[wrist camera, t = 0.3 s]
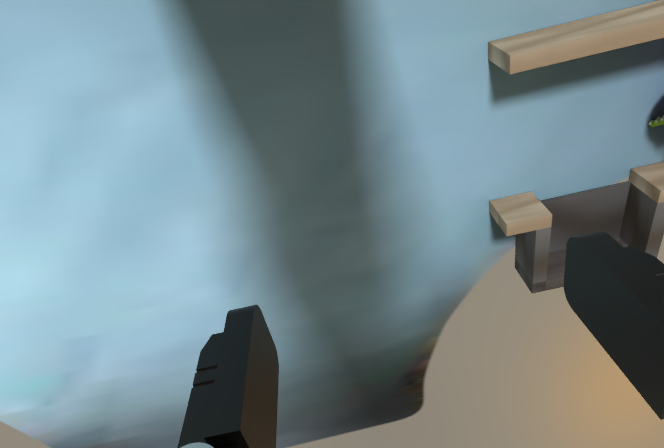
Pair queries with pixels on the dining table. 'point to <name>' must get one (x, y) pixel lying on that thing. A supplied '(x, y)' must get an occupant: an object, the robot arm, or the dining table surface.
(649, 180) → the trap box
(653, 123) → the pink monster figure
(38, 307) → the dining table surface
